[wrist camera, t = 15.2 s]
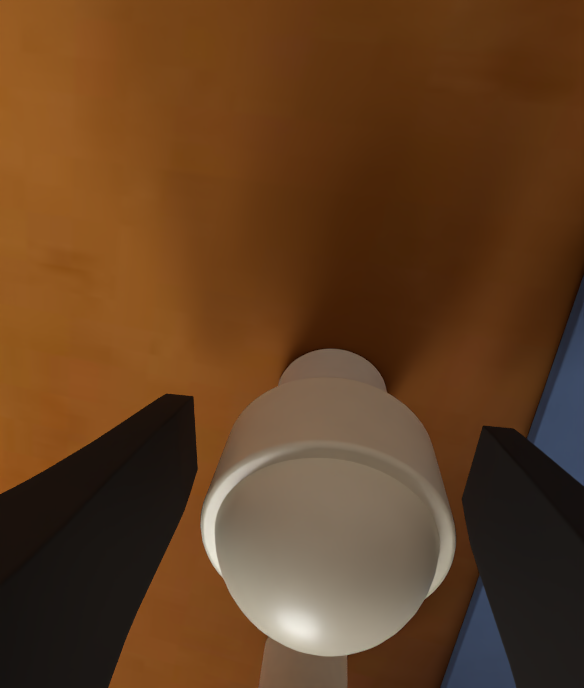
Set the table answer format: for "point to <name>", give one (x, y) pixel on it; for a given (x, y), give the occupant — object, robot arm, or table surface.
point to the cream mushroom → (329, 509)
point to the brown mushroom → (300, 669)
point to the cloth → (570, 454)
